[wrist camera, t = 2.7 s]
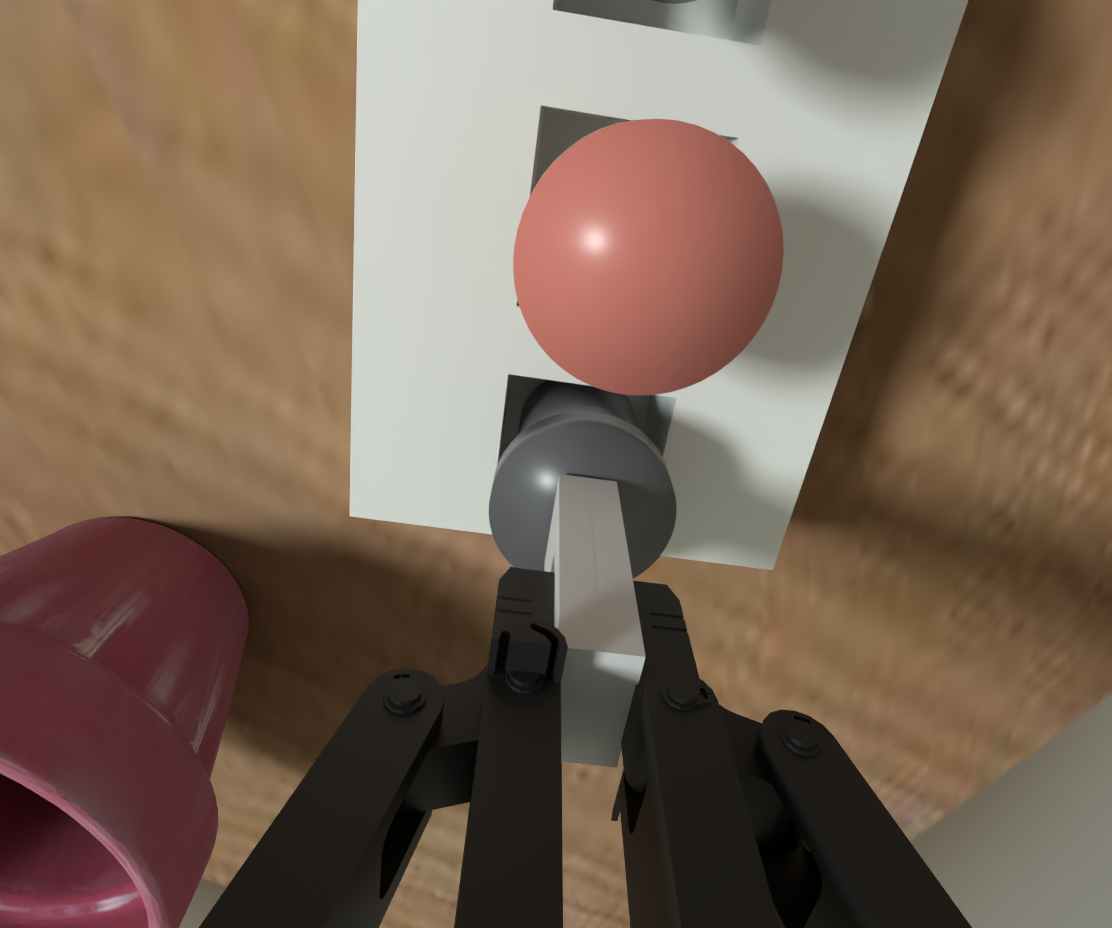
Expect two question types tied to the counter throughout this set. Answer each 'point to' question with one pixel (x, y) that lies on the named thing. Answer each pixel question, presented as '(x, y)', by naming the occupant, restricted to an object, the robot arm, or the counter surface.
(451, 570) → the counter surface
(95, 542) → the plant pot
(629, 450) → the knob
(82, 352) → the counter surface
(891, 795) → the counter surface
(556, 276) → the pink round knob
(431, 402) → the mount
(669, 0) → the knob
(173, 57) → the counter surface
